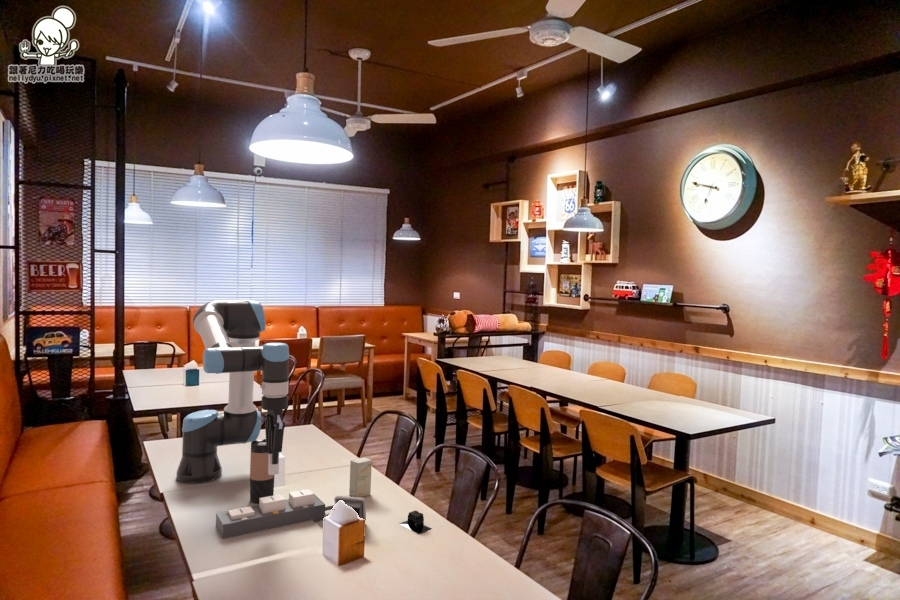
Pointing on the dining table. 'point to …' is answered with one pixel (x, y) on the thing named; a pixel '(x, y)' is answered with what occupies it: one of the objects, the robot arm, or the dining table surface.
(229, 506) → the dining table surface
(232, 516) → the button
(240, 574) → the dining table surface
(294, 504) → the button
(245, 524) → the power strip
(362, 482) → the skincare box
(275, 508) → the button
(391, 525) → the dining table surface
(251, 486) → the travel mug
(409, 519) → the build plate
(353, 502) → the electrical switch
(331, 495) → the dining table surface
